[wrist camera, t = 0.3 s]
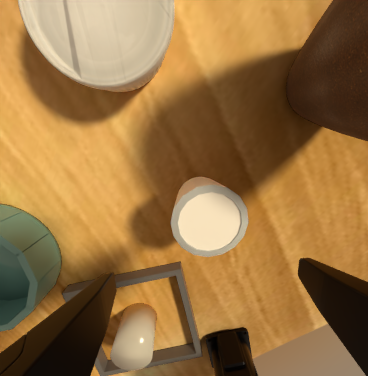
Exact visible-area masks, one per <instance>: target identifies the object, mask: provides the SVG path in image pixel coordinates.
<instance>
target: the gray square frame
mask: <svg viewBox="0 0 368 376" xmlns="http://www.w3.org/2000/svg"><path fill="white" fill-rule="evenodd" d="M114 276H115V282H116V288H119V287H123V286H128V285H133V284H138V283H143V282H147V281H152V280H157V279H162V278H167V277H172V276H176V277H177V281H178V285H179V289H180V293H181V297H182V301H183V304H184V308H185V312H186V316H187V320H188V324H189V327H190V331H191V335H192V339H193V343H192V344H187V345H182V346H177V347H172V348H167V349H162V350H157V351H153V356H152V360H151V362H150V363H149V364H148V365H147V366H146V367H144V368H148V367H153V366H158V365H162V364H167V363H172V362H177V361H182V360H187V359H192V358H197V357H202V348H201V343H200V339H199V335H198V330H197V326H196V322H195V318H194V314H193V310H192V306H191V302H190V298H189V294H188V290H187V286H186V282H185V278H184V274H183V270H182V266H181V262H176V263H171V264H167V265H162V266H157V267H152V268H147V269H143V270H138V271H133V272H128V273H123V274H119V275H114ZM95 280H96V279H94V280H90V281H85V282H80V283H75V284H70V285H68V286H67V288H66V289H65V290H64V292H63V293H62V295H63V297H64V299H65V301H66V302H68V301H69V300H70V299H72V298H73V297H74V296H75V295H77V294H78V293H79V292H81V291H82V290H83V289H84V288H86V287H87V286H88V285H90V284H91V283H92V282H94V281H95ZM95 366H96V368H97V370H98V372H99V374H100V376H108V375H113V374H118V373H123V372H128V371H129V370H124V369H121V368H119V367H117V366H116V365H115V364H114V363H113V362H112V360H107V357H106V355H105V353H104V351H103V348H102V346H101V347H100V350H99V353H98V355H97V358H96V361H95ZM142 369H143V368H142Z"/></svg>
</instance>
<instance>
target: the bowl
mask: <svg viewBox="0 0 368 376" xmlns="http://www.w3.org/2000/svg"><path fill="white" fill-rule="evenodd" d="M61 264H62V260H61V252H60V249H59V246H58V243H57V241H56V240H55V238H54V236H53V235H52V233H51V232H50V231H49V230H48V228H47V227H46V226H45V225H44V224H43V223H42V222H40V221H39V220H38V219H37V218H35V217H34V216H32V215H31V214H29V213H27V212H25V211H23V210H21V209H19V208H16V207H13V206H10V205H5V204H0V332H1V331H6V330H10V329H13V328H14V327H15V326H16V325H17V324H19V323H20V322H21V321H22V320H23V319H24V318H25V317H26V316H28V315H29V314H30V313H31V312H32V311H33V310H34V309H35V308H36V307H37V305H38V304H39V303H40V302H41V301H42V299H43V298H44V297H45V296H46V295H47V294H48V292H49V291H50V290H51V289H52V288H53V286H54V285H55V284H56V280H57V278H58V276H59V274H60V270H61Z"/></svg>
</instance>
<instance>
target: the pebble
mask: <svg viewBox="0 0 368 376" xmlns="http://www.w3.org/2000/svg"><path fill="white" fill-rule="evenodd" d="M156 320H157V315H156V312H155V310H154V309H153V308H152V307H151V306H149V305H147V304H143V303H136V304H132V305H130V306H128V307H127V308H126V309H125V310H124V312H123V314H122V318H121V321H120V324H119V327H118V331H117V334H116V337H115V340H114V344H113V347H112V350H111V355H110V356H111V360H112V362H113V363H114V364H115V365H116V366H117V367H119V368H121V369H124V370H129V371H134V370H139V369H142V368H144V367H146V366H147V365H148V364H149V363H150V362H151V360H152V356H153V347H154V338H155V329H156Z"/></svg>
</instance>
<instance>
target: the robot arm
mask: <svg viewBox="0 0 368 376" xmlns="http://www.w3.org/2000/svg"><path fill="white" fill-rule="evenodd" d="M298 276H299V279H300V280H301V282H302V284H303V285H304V287H305V289H306V290H307V292H308V293H309V295H310V297H311V298H312V300H313V302H314V303H315V305H316V307H317V308H318V310H319V311H320V313H321V314H322V315H323V317H324V318H325V320H326V321H327V322H328V324H329V325H330V326H331V328H332V329H333V331H334V332H335V333H336V335H337V336H338V338H339V339H340V340H341V342H342V343H343V344H344V346H345V347H346V349H347V350H348V351H349V353H350V354H351V355H352V357H353V358H354V360H355V361H356V362H357V364H358V365H359V366H360V368H361V369H362V371H363V372H364V373H365V375H366V376H368V282H366V281H364V280H362V279H359V278H357V277H354V276H352V275H349V274H347V273H345V272H342V271H340V270H337V269H335V268H333V267H330V266H328V265H325V264H323V263H321V262H318V261H316V260H313V259H311V258H301V259H300V260H299V267H298ZM115 295H116V282H115V276H114V273H104V274H103V275H101V276H100V277H99V278H97V279H96V280H95V281H94V282H92V283H91V284H90V285H88V286H87V287H86V288H84V289H83V290H82V291H81V292H79V293H78V294H77V295H75V296H74V297H73V298H72V299H70V300H69V301H68V302H66V303H65V304H64V305H62V306H61V307H60V308H59V309H57V310H56V311H55V312H53V313H52V314H51V315H49V316H48V317H47V318H46V319H44V320H43V321H42V322H40V323H39V324H38V325H37V326H35V327H34V328H33V329H31V330H30V331H29V332H28V333H27V335H26V334H25V335H23V336H22V337H21V338H20V339H18V340H17V341H16V342H14V343H13V344H12V345H10V346H9V347H8V348H6V349H5V350H4V351H2V352H1V353H0V376H90V375H91V372H92V370H93V367H94V364H95V361H96V358H97V355H98V353H99V350H100V347H101V344H102V341H103V338H104V336H105V333H106V330H107V326H108V323H109V319H110V315H111V311H112V307H113V303H114V299H115ZM206 343H207V347H208V352H209V356H210V360H211V364H212V367H213V368H214V371H215V376H258V374H257V371H256V368H255V366H254V363H253V360H252V355H251V348H250V342H249V335H248V331H247V329H246V328H241V329H236V330H232V331H227V332H222V333H217V334H212V335H208V336H206Z"/></svg>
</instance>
